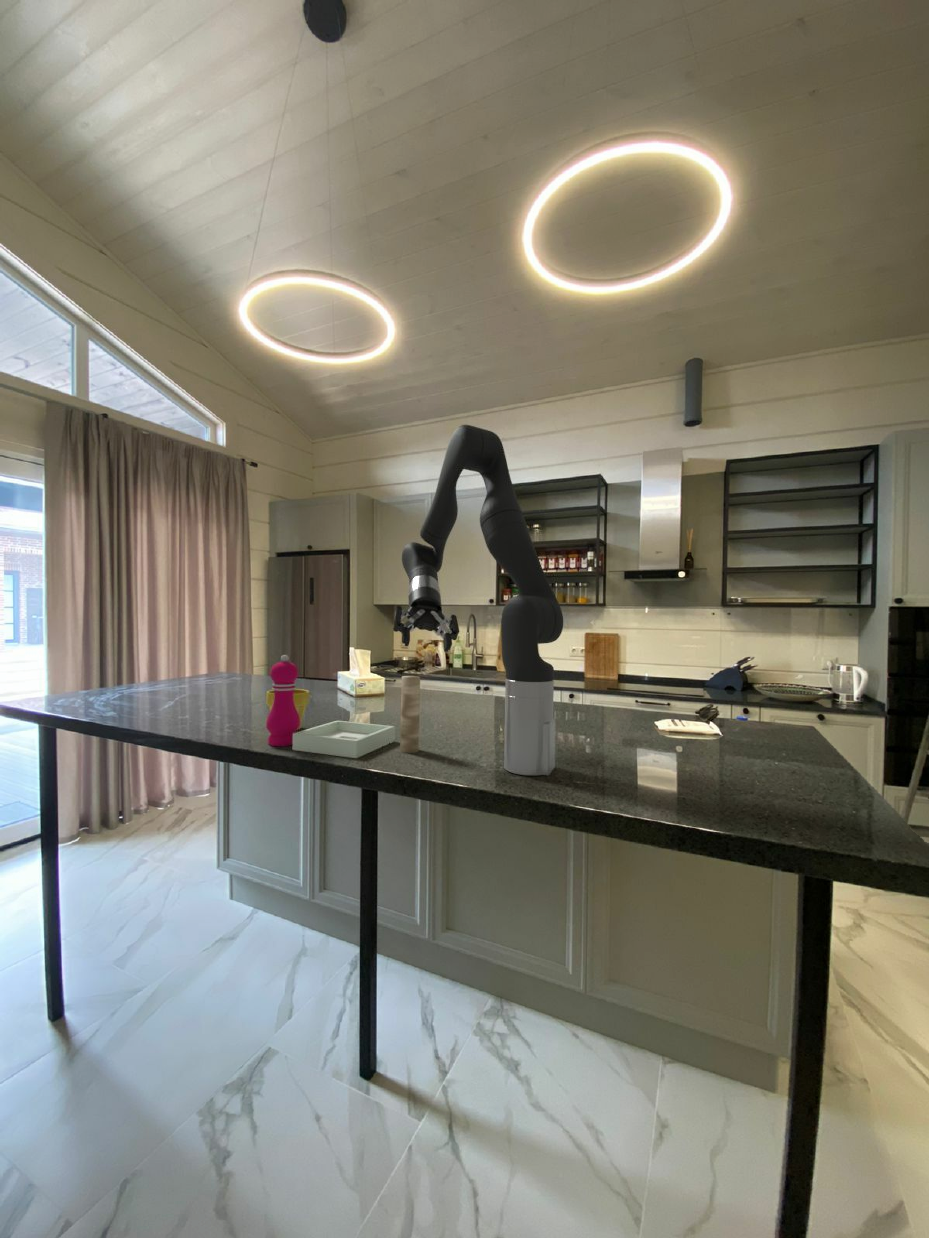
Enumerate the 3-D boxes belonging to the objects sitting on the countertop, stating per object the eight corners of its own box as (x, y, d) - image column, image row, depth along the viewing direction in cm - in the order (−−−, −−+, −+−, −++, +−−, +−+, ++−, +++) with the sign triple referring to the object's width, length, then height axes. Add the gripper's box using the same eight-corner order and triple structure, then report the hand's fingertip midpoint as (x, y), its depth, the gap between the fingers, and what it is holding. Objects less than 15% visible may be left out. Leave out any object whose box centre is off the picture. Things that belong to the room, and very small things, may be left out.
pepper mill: (304, 739, 116) (306, 654, 116) (291, 747, 109) (293, 656, 109) (275, 738, 116) (277, 653, 117) (259, 746, 109) (261, 655, 109)
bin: (394, 741, 116) (394, 726, 116) (356, 758, 101) (356, 740, 101) (336, 734, 122) (337, 720, 122) (292, 749, 107) (292, 733, 107)
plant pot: (312, 725, 132) (313, 688, 132) (302, 733, 122) (303, 694, 122) (273, 725, 132) (273, 688, 132) (259, 733, 121) (260, 693, 121)
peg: (421, 749, 109) (423, 676, 109) (413, 753, 105) (415, 678, 105) (405, 747, 110) (407, 675, 111) (396, 751, 107) (398, 677, 107)
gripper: (397, 580, 112) (397, 628, 100) (458, 590, 116) (464, 638, 104) (391, 605, 117) (390, 654, 104) (449, 614, 120) (455, 663, 108)
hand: (427, 646), depth 104 cm, fingers open, 8 cm apart
